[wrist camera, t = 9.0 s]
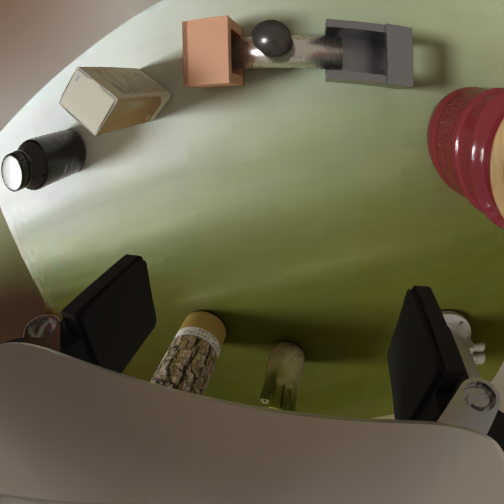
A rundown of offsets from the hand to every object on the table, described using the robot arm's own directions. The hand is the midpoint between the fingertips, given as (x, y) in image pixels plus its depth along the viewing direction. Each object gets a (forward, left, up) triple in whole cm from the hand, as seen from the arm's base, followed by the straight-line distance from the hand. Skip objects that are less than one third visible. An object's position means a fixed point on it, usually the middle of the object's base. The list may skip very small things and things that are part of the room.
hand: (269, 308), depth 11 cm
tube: (+2, -12, -27) cm, 29 cm away
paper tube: (+14, +25, -27) cm, 40 cm away
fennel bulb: (+1, +28, -27) cm, 39 cm away
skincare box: (+19, -9, -27) cm, 34 cm away
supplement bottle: (+33, -3, -27) cm, 42 cm away
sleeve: (-6, -12, -27) cm, 30 cm away
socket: (+9, -12, -27) cm, 31 cm away
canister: (-20, -5, -27) cm, 34 cm away
